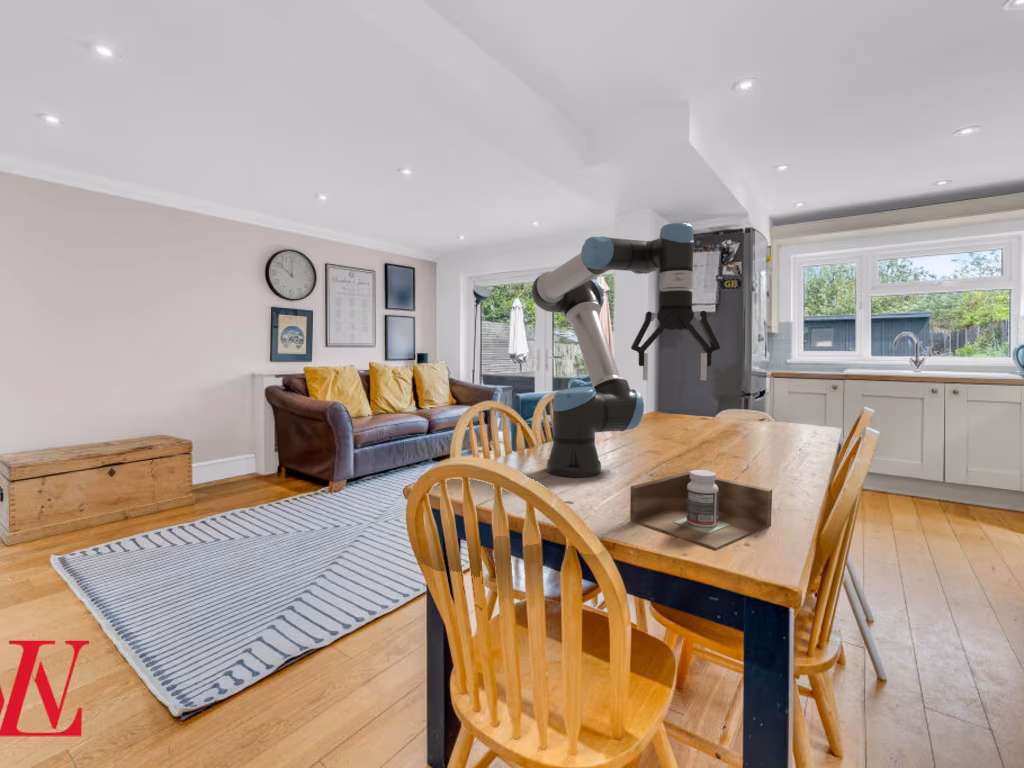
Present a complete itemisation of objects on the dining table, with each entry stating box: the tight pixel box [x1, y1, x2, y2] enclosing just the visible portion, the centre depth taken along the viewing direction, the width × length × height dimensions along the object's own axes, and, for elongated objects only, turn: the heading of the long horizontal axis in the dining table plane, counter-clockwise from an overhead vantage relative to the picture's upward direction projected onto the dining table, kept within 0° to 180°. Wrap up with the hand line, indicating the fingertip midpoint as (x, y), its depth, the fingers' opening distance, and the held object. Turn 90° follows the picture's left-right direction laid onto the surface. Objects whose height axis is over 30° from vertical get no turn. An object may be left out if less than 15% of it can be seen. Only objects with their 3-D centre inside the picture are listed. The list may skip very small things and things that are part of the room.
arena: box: [629, 471, 773, 550], centre depth 99 cm, size 18×20×7 cm
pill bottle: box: [687, 469, 718, 527], centre depth 97 cm, size 6×6×10 cm
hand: (674, 380), depth 121 cm, fingers open, 13 cm apart
